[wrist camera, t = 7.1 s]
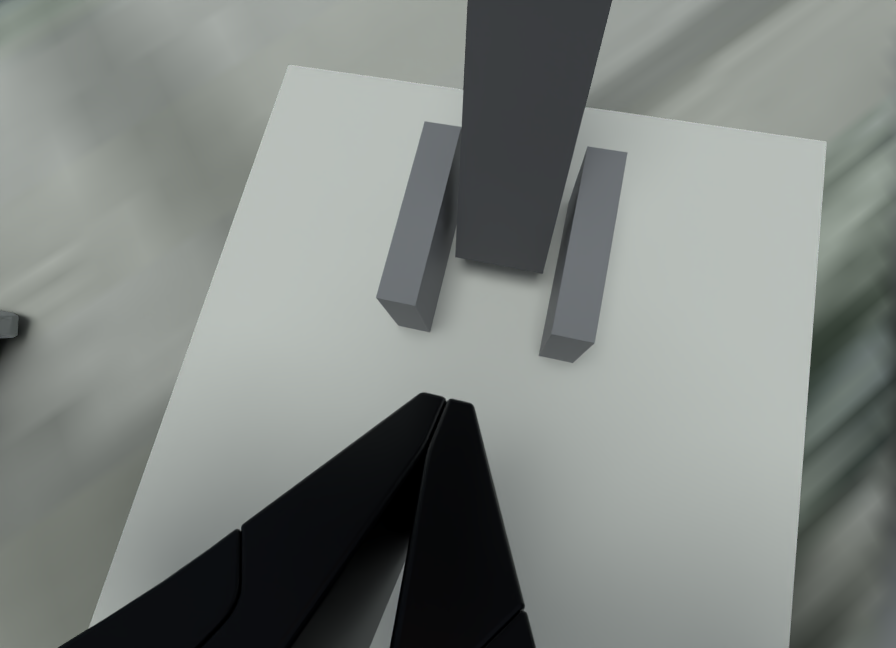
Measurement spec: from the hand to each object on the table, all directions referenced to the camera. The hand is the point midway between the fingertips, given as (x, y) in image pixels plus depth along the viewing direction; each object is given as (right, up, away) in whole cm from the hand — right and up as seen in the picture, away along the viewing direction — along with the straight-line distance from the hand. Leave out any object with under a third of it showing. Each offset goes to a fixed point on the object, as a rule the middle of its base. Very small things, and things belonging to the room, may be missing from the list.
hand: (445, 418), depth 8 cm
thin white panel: (+1, -2, +9) cm, 9 cm away
